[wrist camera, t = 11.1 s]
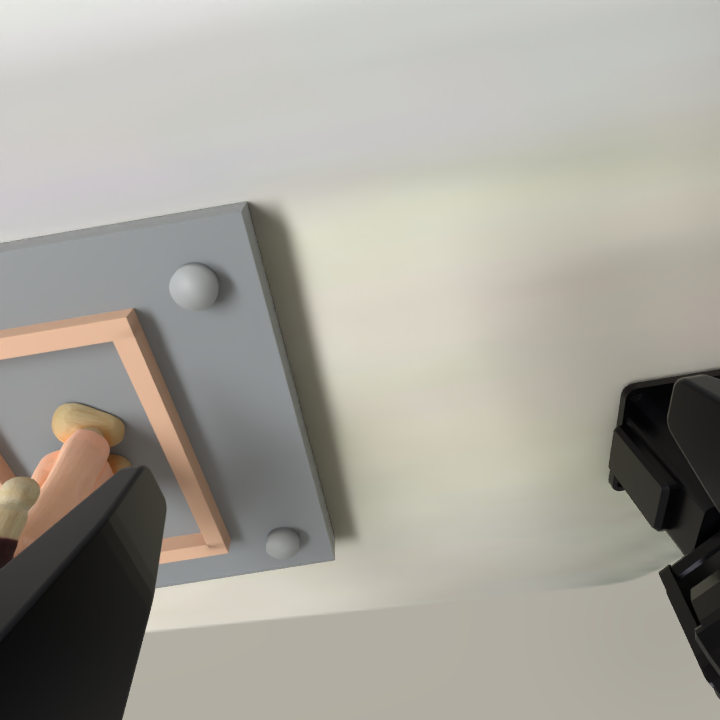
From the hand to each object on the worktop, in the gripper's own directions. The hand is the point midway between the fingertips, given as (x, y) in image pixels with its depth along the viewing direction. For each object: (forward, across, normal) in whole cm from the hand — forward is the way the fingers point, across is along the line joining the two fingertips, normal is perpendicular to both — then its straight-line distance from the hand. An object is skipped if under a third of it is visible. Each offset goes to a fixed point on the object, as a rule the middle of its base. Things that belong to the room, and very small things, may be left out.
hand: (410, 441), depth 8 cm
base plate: (+12, +13, +7) cm, 19 cm away
